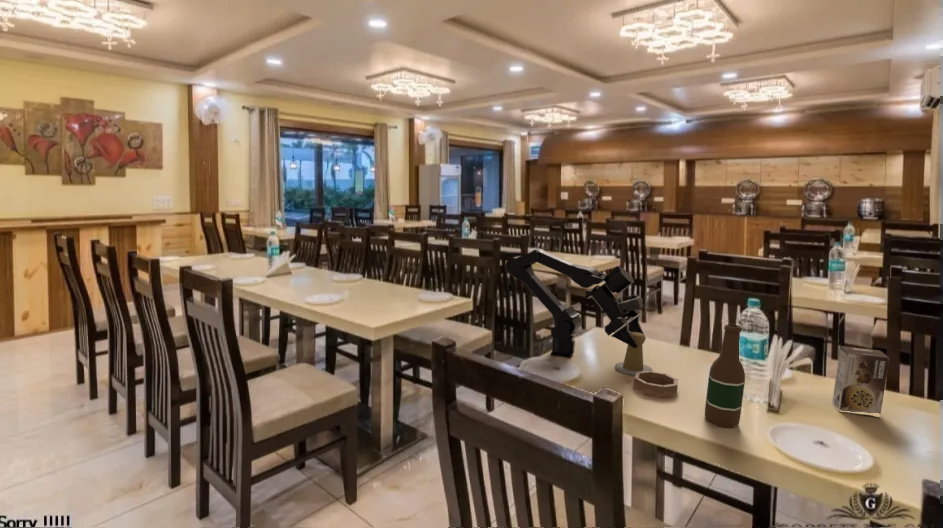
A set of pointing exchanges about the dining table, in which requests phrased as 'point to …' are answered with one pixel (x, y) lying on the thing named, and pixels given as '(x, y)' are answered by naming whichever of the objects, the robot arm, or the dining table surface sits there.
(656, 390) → the guard ring
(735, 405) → the beer bottle
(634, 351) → the cork
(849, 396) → the coffee box
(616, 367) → the slate coaster
